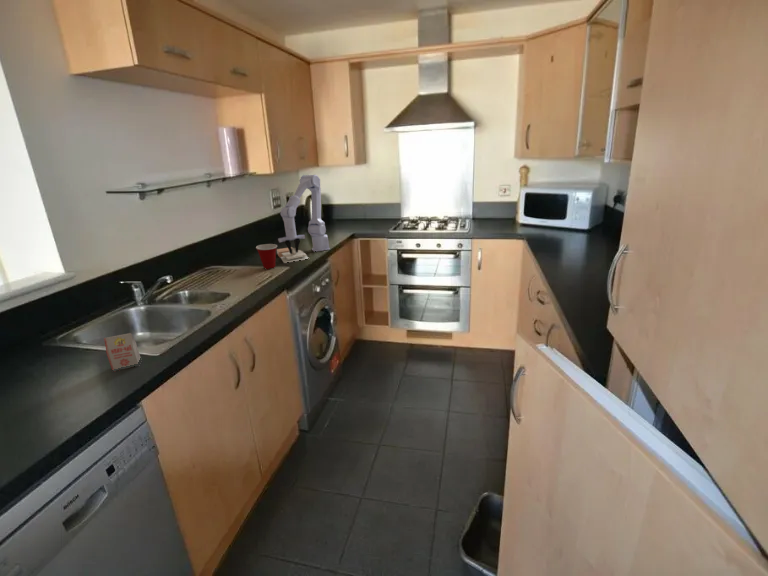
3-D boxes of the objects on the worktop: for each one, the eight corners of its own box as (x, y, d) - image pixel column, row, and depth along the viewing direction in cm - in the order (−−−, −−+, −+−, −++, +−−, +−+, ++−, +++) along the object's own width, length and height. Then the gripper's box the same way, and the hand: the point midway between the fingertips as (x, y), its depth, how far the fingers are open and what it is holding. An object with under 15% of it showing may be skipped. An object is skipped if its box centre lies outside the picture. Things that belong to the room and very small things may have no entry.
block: (292, 251, 244) (291, 247, 243) (294, 254, 236) (294, 250, 235) (277, 254, 241) (276, 249, 240) (279, 257, 233) (278, 252, 232)
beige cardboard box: (116, 365, 119) (106, 335, 116) (141, 360, 121) (132, 330, 118) (112, 371, 116) (102, 340, 112) (138, 366, 118) (129, 335, 114)
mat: (304, 254, 236) (304, 253, 236) (309, 259, 224) (309, 258, 223) (280, 257, 231) (280, 257, 231) (284, 263, 219) (284, 262, 219)
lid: (300, 251, 234) (299, 244, 233) (306, 256, 225) (305, 248, 224) (281, 254, 229) (280, 247, 228) (287, 259, 221) (286, 252, 219)
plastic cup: (273, 271, 205) (269, 248, 201) (255, 270, 209) (251, 248, 205) (284, 265, 215) (281, 243, 211) (267, 264, 219) (263, 243, 215)
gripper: (301, 226, 228) (304, 249, 233) (275, 229, 222) (279, 253, 227) (304, 227, 222) (307, 251, 227) (278, 231, 216) (282, 256, 221)
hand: (293, 252), depth 226 cm, fingers closed on lid, 3 cm apart
